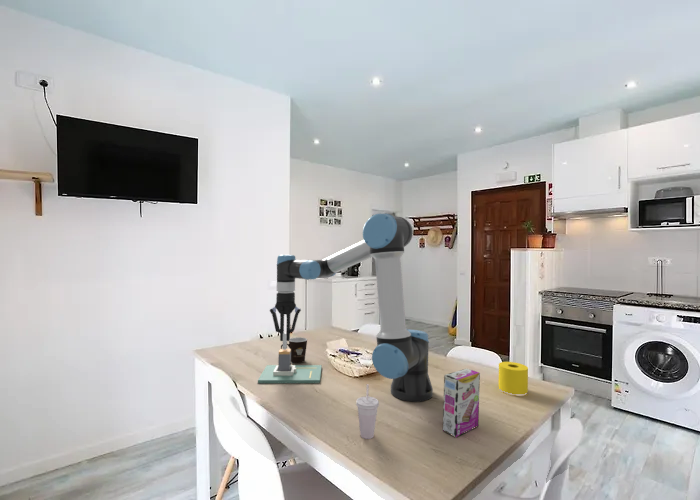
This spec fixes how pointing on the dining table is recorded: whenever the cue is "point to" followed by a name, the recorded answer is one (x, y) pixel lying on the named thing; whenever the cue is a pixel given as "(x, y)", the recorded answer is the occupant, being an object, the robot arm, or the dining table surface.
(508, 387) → the yellow toilet paper roll
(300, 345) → the coffee mug
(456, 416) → the candy bar box
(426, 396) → the robot arm
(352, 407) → the dining table surface
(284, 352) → the plug
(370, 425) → the smoothie
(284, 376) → the board
